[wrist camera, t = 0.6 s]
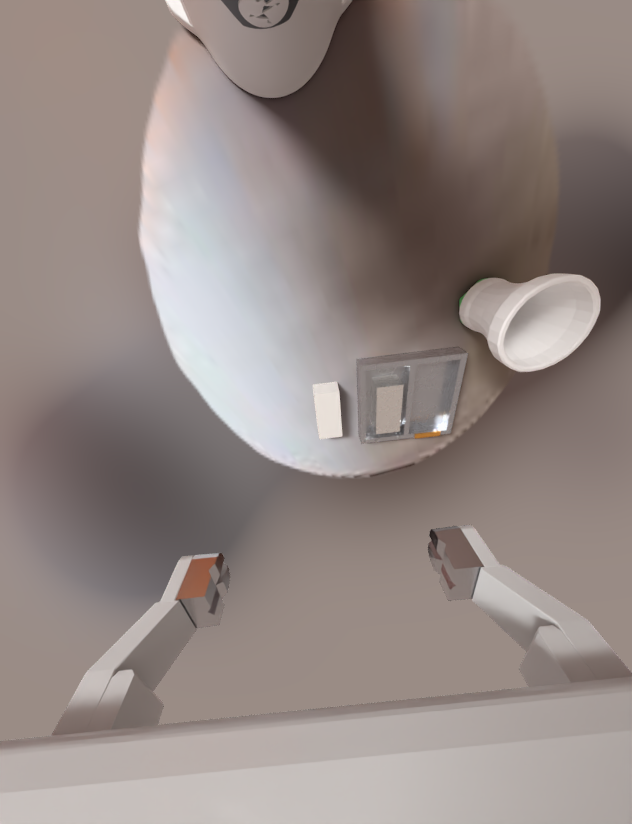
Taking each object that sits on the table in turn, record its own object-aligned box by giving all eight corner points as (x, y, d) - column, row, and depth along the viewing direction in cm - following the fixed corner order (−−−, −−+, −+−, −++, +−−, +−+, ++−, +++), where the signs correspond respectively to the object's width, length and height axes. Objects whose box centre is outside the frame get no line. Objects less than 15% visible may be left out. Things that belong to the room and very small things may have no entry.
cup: (492, 342, 47) (557, 378, 35) (433, 332, 45) (480, 366, 33) (531, 270, 41) (626, 285, 29) (464, 256, 39) (536, 265, 27)
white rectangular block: (312, 384, 50) (313, 394, 46) (336, 381, 50) (339, 391, 46) (318, 426, 55) (319, 439, 52) (339, 424, 55) (342, 436, 52)
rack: (356, 359, 47) (361, 370, 43) (459, 346, 47) (473, 357, 43) (358, 435, 57) (362, 450, 53) (443, 425, 56) (454, 440, 52)
